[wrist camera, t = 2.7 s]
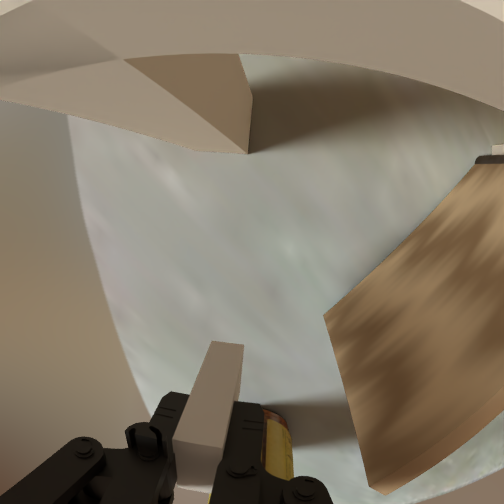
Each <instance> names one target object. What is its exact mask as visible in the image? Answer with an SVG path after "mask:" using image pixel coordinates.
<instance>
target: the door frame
mask: <svg viewBox="0 0 504 504" xmlns="http://www.w3.org/2000/svg"><path fill="white" fill-rule="evenodd" d="M239 54H257V55H273V56H285V57H295V58H304V59H313V60H320V61H327V62H334V63H340V64H346V65H352V66H357V67H362V68H367V69H372V70H377V71H381V72H386V73H390V74H394V75H398V76H402V77H406V78H410V79H413V80H417V81H421V82H424V83H427V84H431V85H434V86H437V87H441V88H444V89H447V90H450V91H453V92H456V93H458V94H461V95H464V96H467V97H470V98H472V99H475V100H478V101H480V102H483V103H485V104H488V105H490V106H493V107H495V108H497V109H500V110H502V111H504V0H0V100H3V101H7V102H12V103H18V104H23V105H28V106H33V107H37V108H42V109H46V110H51V111H55V112H59V113H64V114H68V115H72V116H76V117H80V118H84V119H88V120H92V121H96V122H100V123H104V124H107V125H111V126H115V127H118V128H122V129H126V130H129V131H133V132H136V133H140V134H143V135H146V136H150V137H153V138H157V139H160V140H163V141H166V142H170V143H173V144H176V145H179V146H182V147H185V148H189V149H192V150H195V151H202V152H221V153H237V154H248V146H249V135H250V124H251V113H252V103H253V96H252V93H251V90H250V87H249V84H248V81H247V78H246V75H245V72H244V69H243V66H242V63H241V60H240V57H239ZM492 155H504V144H502V145H492Z"/></svg>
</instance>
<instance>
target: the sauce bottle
mask: <svg viewBox="0 0 504 504" xmlns="http://www.w3.org/2000/svg"><path fill="white" fill-rule="evenodd" d="M263 411H264V427H263V440H262V453H261V463H262V465H263V467H264V468H265V470H266V471H267V472H269V473H270V474H271V475H273V476H276V477H278V478H281V479H284V480H288V481H289V480H290V479H292V478H294V471H293V454H292V439H291V436H290V433H289V429H288V427H287V423H286V421H285V420H284V419H283V418H282V417H280V416H279V415H277V414H275V413H273V412H271V411H268V410H266V409H263ZM210 496H211V493H210V494H209V500H208V504H209V501H210Z"/></svg>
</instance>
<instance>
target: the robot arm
mask: <svg viewBox="0 0 504 504" xmlns="http://www.w3.org/2000/svg"><path fill="white" fill-rule="evenodd" d="M243 351H244V345H241V344H233V343H225V342H217V341H212V342H211V344H210V347H209V349H208V351H207V354H206V356H205V359H204V361H203V364H202V366H201V369H200V371H199V374H198V376H197V379H196V381H195V384H194V386H193V388H192V391H191V393H190V395H188V394H182V393H177V392H172V391H171V392H169V393H168V394H167V395H165V396H164V397H162V399H161V401H160V403H159V405H158V408H157V409H156V411H155V412H154V415H153V416H152V418H151V420H150V422H149V423H148V422H141V423H135V424H133V425H131V426H129V427H128V428H127V429H126V430H125V434H126V439H127V444H128V448H125V449H110V448H103V447H102V445H101V443H100V442H98V441H97V440H95V439H93V438H90V437H78V438H75V439H73V440H71V441H70V442H68V443H67V444H66V445H64V446H63V447H62V448H61V449H60V450H58V451H57V452H56V453H55V454H53V455H52V456H51V457H50V458H48V459H47V460H46V461H45V462H43V463H42V464H41V465H40V466H38V467H37V468H36V469H35V470H33V471H32V472H31V473H29V474H28V475H27V476H26V477H24V478H23V479H22V480H21V481H19V482H18V483H17V484H16V485H14V486H13V487H12V488H11V489H9V490H8V491H6V492H5V493H4V494H2V495H1V496H0V504H172V503H173V500H174V491H173V489H174V487H175V483H176V481H177V487H179V488H184V489H190V490H195V491H200V492H205V493H211V496H210V501H209V504H333V502H332V500H331V497H330V495H329V493H328V491H327V488H326V487H325V486H324V484H323V483H322V482H321V481H319V480H318V479H316V478H313V477H309V476H298V477H295V478H292V479H290V480H289V481H288V480H284V479H281V478H278V477H276V476H273V475H271V474H270V473H269V472H267V471H266V470H265V468H264V467H263V465H262V463H261V453H262V440H263V427H264V411H263V409H262V407H261V405H260V404H257V403H248V402H239V401H238V398H239V393H240V384H241V373H242V362H243Z"/></svg>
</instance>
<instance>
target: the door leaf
mask: <svg viewBox="0 0 504 504" xmlns="http://www.w3.org/2000/svg"><path fill="white" fill-rule="evenodd" d="M323 316H324V320H325V323H326V326H327V330H328V333H329V336H330V340H331V343H332V347H333V350H334V354H335V357H336V360H337V364H338V368H339V371H340V375H341V378H342V382H343V385H344V389H345V393H346V396H347V400H348V404H349V408H350V411H351V415H352V419H353V423H354V427H355V431H356V435H357V439H358V443H359V447H360V451H361V455H362V459H363V463H364V467H365V472H366V476H367V480H368V485H369V487H371V488H372V489H374V490H376V491H378V492H380V493H382V494H383V495H385V496H386V495H387V494H389V493H391V492H393V491H395V490H396V489H398V488H400V487H401V486H403V485H405V484H406V483H408V482H410V481H411V480H413V479H415V478H416V477H418V476H419V475H421V474H422V473H424V472H426V471H427V470H429V469H430V468H432V467H433V466H435V465H436V464H437V463H439V462H440V461H442V460H443V459H445V458H446V457H447V456H449V455H450V454H451V453H453V452H454V451H455V450H457V449H458V448H459V447H461V446H462V445H463V444H465V443H466V442H467V441H468V440H470V439H471V438H472V437H473V436H474V435H476V434H477V433H478V432H479V431H480V430H482V429H483V428H484V427H485V426H486V425H487V424H489V423H490V422H491V421H492V420H493V419H494V418H495V417H496V416H498V415H499V414H500V413H501V412H502V411H503V410H504V155H487V156H479V157H477V159H476V161H475V165H474V166H473V167H472V168H471V169H470V170H469V172H468V173H467V174H466V175H465V176H464V177H463V179H462V180H461V181H460V182H459V183H458V184H457V185H456V186H455V188H454V189H453V190H452V191H451V192H450V193H449V194H448V195H447V196H446V197H445V199H444V200H443V201H442V202H441V203H440V204H439V205H438V206H437V207H436V208H435V209H434V210H433V211H432V212H431V214H430V215H429V216H428V217H427V218H426V219H425V220H424V221H423V222H422V223H421V224H420V225H419V226H418V227H417V228H416V229H415V230H414V231H413V232H412V233H411V234H410V235H409V236H408V237H407V238H406V239H405V240H404V241H403V242H402V243H401V244H400V245H399V246H398V247H397V248H396V249H395V250H394V251H393V252H392V253H391V254H390V255H389V256H388V257H387V258H386V259H385V260H384V261H383V262H382V263H381V264H379V265H378V266H377V267H376V268H375V269H374V270H373V271H372V272H371V273H370V274H369V275H368V276H367V277H366V278H365V279H363V280H362V281H361V282H360V283H359V284H358V285H357V286H356V287H355V288H354V289H352V290H351V291H350V292H349V293H348V294H347V295H346V296H345V297H344V298H342V299H341V300H340V301H339V302H338V303H337V304H336V305H334V306H333V307H332V308H331V309H330V310H329V311H328V312H326V313H325V314H324V315H323Z"/></svg>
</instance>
